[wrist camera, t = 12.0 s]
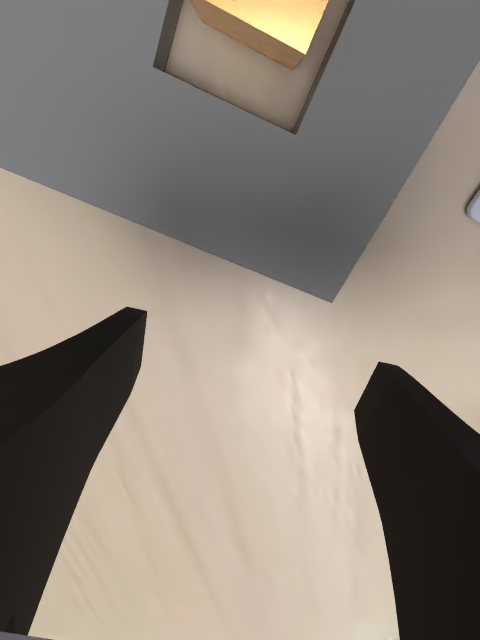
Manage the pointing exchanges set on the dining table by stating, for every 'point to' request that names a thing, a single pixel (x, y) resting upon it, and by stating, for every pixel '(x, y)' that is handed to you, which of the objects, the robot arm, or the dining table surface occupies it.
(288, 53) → the block
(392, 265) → the dining table surface
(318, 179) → the notched board
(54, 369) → the robot arm
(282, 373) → the dining table surface
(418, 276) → the dining table surface
